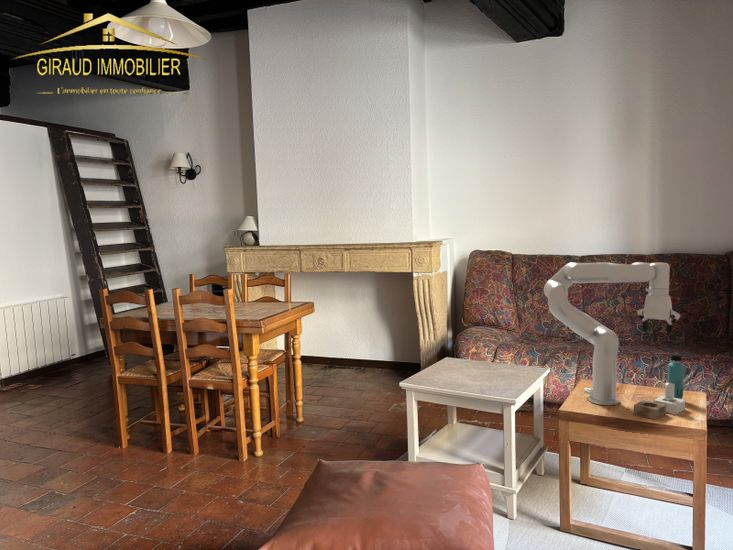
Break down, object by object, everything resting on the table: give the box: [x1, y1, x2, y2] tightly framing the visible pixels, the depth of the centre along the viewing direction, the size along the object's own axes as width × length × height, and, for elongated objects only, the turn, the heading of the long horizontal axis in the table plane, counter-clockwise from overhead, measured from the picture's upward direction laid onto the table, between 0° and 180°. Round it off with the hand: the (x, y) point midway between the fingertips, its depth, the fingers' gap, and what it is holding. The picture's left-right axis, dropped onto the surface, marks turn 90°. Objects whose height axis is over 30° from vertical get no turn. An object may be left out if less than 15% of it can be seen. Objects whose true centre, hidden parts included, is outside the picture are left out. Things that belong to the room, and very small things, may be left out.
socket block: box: [633, 399, 667, 421], centre depth 245 cm, size 9×9×4 cm
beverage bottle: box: [667, 354, 685, 399], centre depth 262 cm, size 6×7×20 cm
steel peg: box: [664, 381, 675, 402], centre depth 251 cm, size 3×3×11 cm
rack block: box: [653, 395, 686, 415], centre depth 251 cm, size 9×9×4 cm
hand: (657, 332), depth 259 cm, fingers open, 9 cm apart
